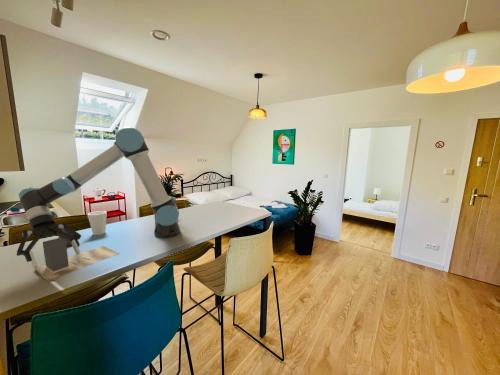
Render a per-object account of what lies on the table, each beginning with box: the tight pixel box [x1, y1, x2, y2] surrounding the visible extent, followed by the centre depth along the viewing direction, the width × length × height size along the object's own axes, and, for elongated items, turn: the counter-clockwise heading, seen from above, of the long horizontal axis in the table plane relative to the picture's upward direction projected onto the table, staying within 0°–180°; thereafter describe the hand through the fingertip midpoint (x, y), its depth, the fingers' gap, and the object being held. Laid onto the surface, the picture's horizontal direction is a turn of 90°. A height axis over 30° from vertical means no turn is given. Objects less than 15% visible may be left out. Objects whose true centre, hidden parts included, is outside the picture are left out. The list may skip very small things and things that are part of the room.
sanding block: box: [42, 238, 69, 273], centre depth 87 cm, size 8×5×11 cm, turn 59°
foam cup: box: [87, 210, 108, 236], centre depth 130 cm, size 10×9×13 cm
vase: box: [57, 229, 72, 247], centre depth 113 cm, size 7×7×9 cm
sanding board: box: [34, 245, 120, 283], centre depth 95 cm, size 26×16×1 cm, turn 149°
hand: (58, 260), depth 86 cm, fingers open, 13 cm apart
